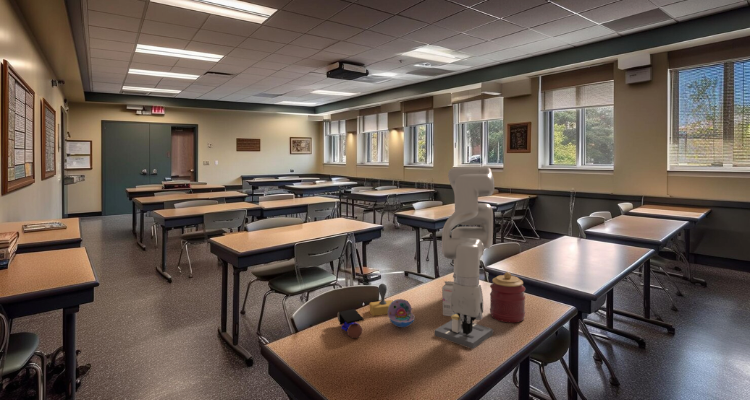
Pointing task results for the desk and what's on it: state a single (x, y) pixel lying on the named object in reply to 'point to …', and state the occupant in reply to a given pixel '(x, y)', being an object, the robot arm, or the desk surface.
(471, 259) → the robot arm
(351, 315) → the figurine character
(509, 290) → the canister
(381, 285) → the rubber stamp
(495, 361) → the desk surface
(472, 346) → the board
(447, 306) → the ink box
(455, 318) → the fader tab brass
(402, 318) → the cell model
